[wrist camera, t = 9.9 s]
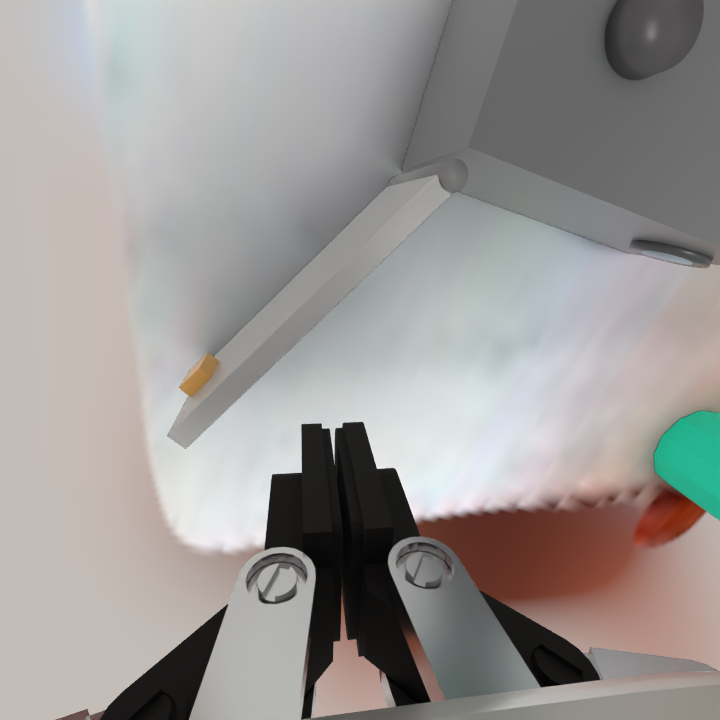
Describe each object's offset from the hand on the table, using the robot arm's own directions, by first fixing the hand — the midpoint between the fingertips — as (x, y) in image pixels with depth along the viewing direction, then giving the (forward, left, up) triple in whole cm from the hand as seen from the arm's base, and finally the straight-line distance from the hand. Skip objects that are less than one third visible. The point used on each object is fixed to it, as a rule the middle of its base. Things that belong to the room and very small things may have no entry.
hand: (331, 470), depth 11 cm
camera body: (-9, -14, -12) cm, 20 cm away
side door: (+1, -3, -11) cm, 12 cm away
